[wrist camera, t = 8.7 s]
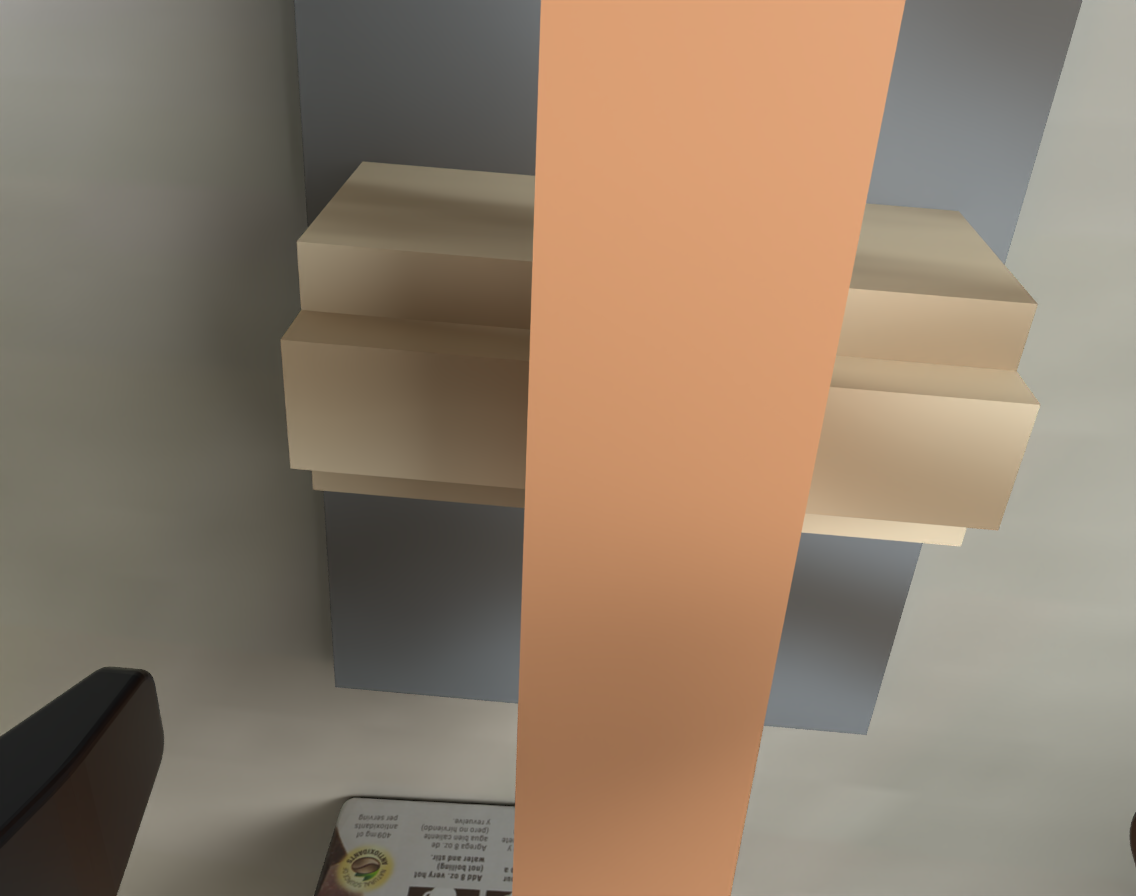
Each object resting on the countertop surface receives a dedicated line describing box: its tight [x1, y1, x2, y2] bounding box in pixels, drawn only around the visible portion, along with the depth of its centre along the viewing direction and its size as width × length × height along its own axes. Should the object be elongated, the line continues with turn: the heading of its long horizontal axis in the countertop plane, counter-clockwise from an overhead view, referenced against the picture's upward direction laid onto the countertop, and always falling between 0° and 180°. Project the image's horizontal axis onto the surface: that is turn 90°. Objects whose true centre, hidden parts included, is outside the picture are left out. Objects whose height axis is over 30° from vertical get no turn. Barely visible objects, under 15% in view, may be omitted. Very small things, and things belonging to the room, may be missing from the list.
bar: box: [512, 0, 906, 896], centre depth 13 cm, size 18×3×3 cm, turn 177°
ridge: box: [280, 0, 1082, 735], centre depth 17 cm, size 20×12×6 cm, turn 176°
